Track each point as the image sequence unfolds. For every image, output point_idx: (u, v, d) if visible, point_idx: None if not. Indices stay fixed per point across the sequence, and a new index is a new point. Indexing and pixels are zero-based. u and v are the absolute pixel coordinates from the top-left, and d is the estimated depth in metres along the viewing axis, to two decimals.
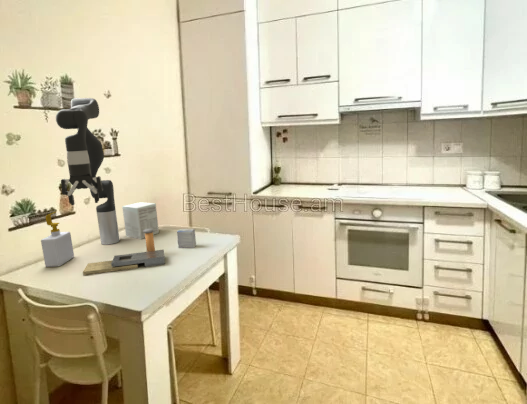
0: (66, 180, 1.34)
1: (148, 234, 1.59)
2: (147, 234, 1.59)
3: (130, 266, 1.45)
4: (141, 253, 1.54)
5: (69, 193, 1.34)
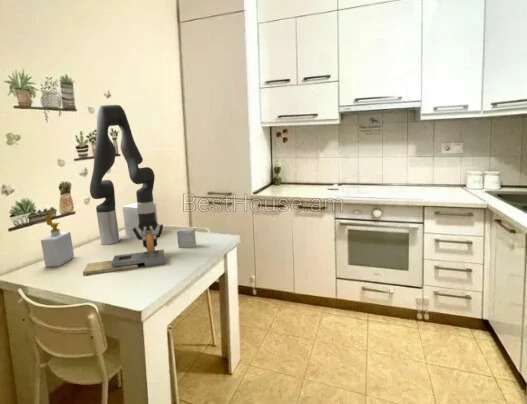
0: (136, 228, 1.58)
1: (148, 234, 1.59)
2: (147, 234, 1.59)
3: (130, 266, 1.45)
4: (141, 253, 1.54)
5: (143, 238, 1.59)
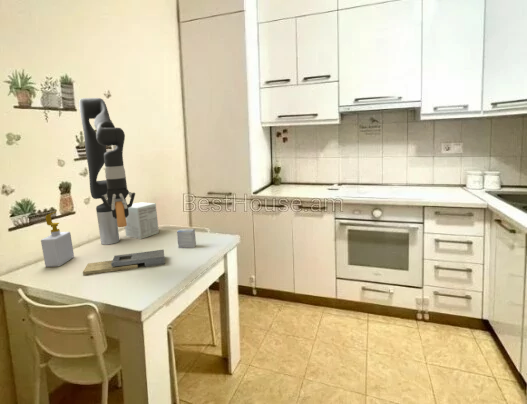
0: (105, 195, 1.42)
1: (118, 203, 1.43)
2: (117, 203, 1.43)
3: (130, 266, 1.45)
4: (141, 253, 1.54)
5: (113, 207, 1.43)
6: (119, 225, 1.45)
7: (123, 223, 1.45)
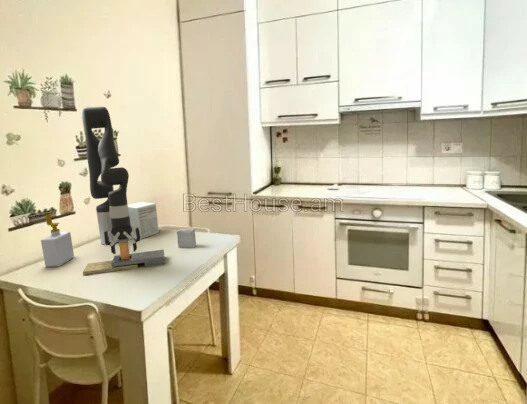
0: (108, 232, 1.45)
1: (122, 244, 1.46)
2: (121, 244, 1.46)
3: (130, 266, 1.45)
4: (141, 253, 1.54)
5: (111, 244, 1.45)
6: None
7: None
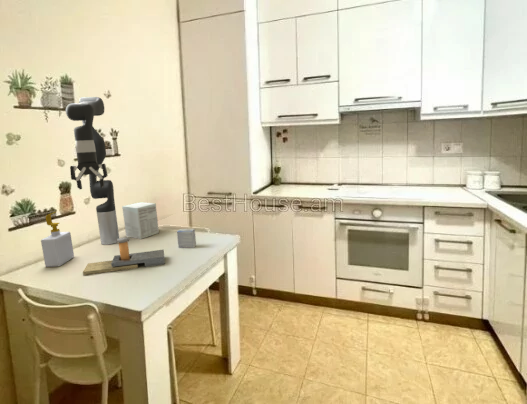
0: (75, 167, 1.49)
1: (122, 244, 1.46)
2: (121, 244, 1.46)
3: (130, 266, 1.45)
4: (141, 253, 1.54)
5: (77, 178, 1.49)
6: None
7: None
